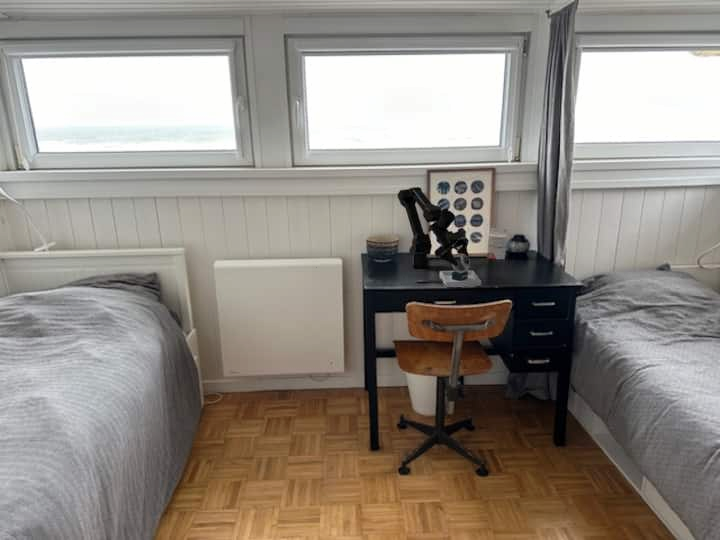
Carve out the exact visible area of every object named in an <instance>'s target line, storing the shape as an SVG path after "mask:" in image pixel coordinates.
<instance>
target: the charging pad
mask: <svg viewBox="0 0 720 540" xmlns="http://www.w3.org/2000/svg"><path fill="white" fill-rule="evenodd" d="M454 271H455V270H439V279H431V280H430V279H427V280H424V279H423V280H420V279H419V280H416V279H415V283H416V282H431V283H444V284H445V285H446V286H472V285H481V286H482V280H481V279H480V278H479V276H478V275H477V274H476V272H475V271H474V270H467V271H468V278H467V279H465V280H463V281H456V280H452V272H454ZM441 279H442V280H441ZM444 284H443V285H444ZM445 285H444V286H445Z"/></svg>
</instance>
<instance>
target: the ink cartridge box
mask: <svg viewBox="0 0 720 540" xmlns="http://www.w3.org/2000/svg"><path fill="white" fill-rule="evenodd" d="M507 232H508V229H507V228H500V227H498V228H497V227H490V229H489V235H488V241H487V253H486V259H490V260H491V259H492V260H500V259H502V260H503V259H504V260H505V258H506V252H507V251H506V250H507V241H508V240H507V239H508V238H507V237H508V233H507ZM504 260H503V261H504Z"/></svg>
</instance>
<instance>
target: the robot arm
mask: <svg viewBox="0 0 720 540" xmlns="http://www.w3.org/2000/svg"><path fill="white" fill-rule="evenodd" d="M397 198H398V199H397V200H398V201H399V203H400V205H401V206H402V207H403V208H404V209H405V212H406V215H407V218H408V222H409V225H410V228H411V232H412V236H413V237H412V240H411V244H412V245H411V246H410V247H409V249H408V251H409V255H411V256H412V263H411V266H412V269H414V270H415V269H428V266H429V265H428V264H429V257H428V255H430V254H431V250H432V248H433V244H432V241H431V238H430V235H429V233H430V232H432V233H433V235H435V237H436V239H437V240H436V242H437V243H440V244H441V245H440V246H439V247H437V248H436V250H434V255H435V257H436V258H439V259H441V260H444V261H446V262H447V263H449V264H451V265H452V264H453V265H455V266H458V265H459V263H458V261H457V259H456V257H455V258H454V255H453V249H454V250H455V251H456V253H457V254H459V253H462V254H465V255H467V256H468V257H469V259H470V255H469V252H468V245H469V242H470V240H469V239H468V238H467V237H466V234H467V231H466V229H464V228H463V227H460V228H458V229H457V231H455V232H453V231H452V230H449V229H448V228H449V227H450V226H451V225H452V223H454V221H455V219H456V215H455V214H454V213H453V212H452V211H451V210H449V209H448V208H442V209H441V208H440V207H439V206H438V205H435V204H433V203H432V202H431V200H430V199H428V197H427V195H425V193H424V192H423V190H422V188H421V187H419V186H415V187H409V188H407V189H400V190H399V191H398V193H397ZM416 204H417V205H418V206H419V208H420V209H421V211H422V216H423V218H424V220H425V222H426V223H431V224H430V225H428V232H429V233H425V232H424V230H423V226H422V223H421V219H420V216H419V212H418V209H417V206H416ZM470 260H471V259H470ZM458 267H459V266H458Z"/></svg>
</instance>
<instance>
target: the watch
mask: <svg viewBox="0 0 720 540" xmlns="http://www.w3.org/2000/svg"><path fill="white" fill-rule="evenodd" d="M453 256H454V258H455V259H456V258H457V256H459V257H460V262H461V264H462V266H463V267H464V270H463V269H459V266H455V265H453V264H451V265H452V268H453V271H454V272H452V280H456V281H463V280H465V279H467V278H468V271H469V269H470V267H471V259H469V258H470V256H469V257H468V256H467V255H465V254H462V253H459V254H458V253H457V254H454V255H453Z"/></svg>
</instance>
